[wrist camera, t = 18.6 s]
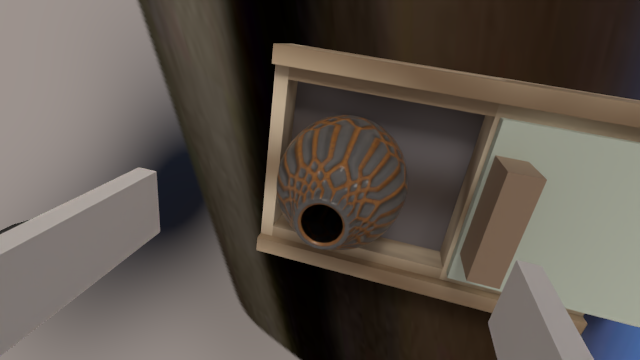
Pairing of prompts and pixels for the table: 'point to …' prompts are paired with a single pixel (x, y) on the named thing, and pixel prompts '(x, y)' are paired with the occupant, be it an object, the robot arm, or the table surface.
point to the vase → (342, 182)
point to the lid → (557, 217)
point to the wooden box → (417, 154)
